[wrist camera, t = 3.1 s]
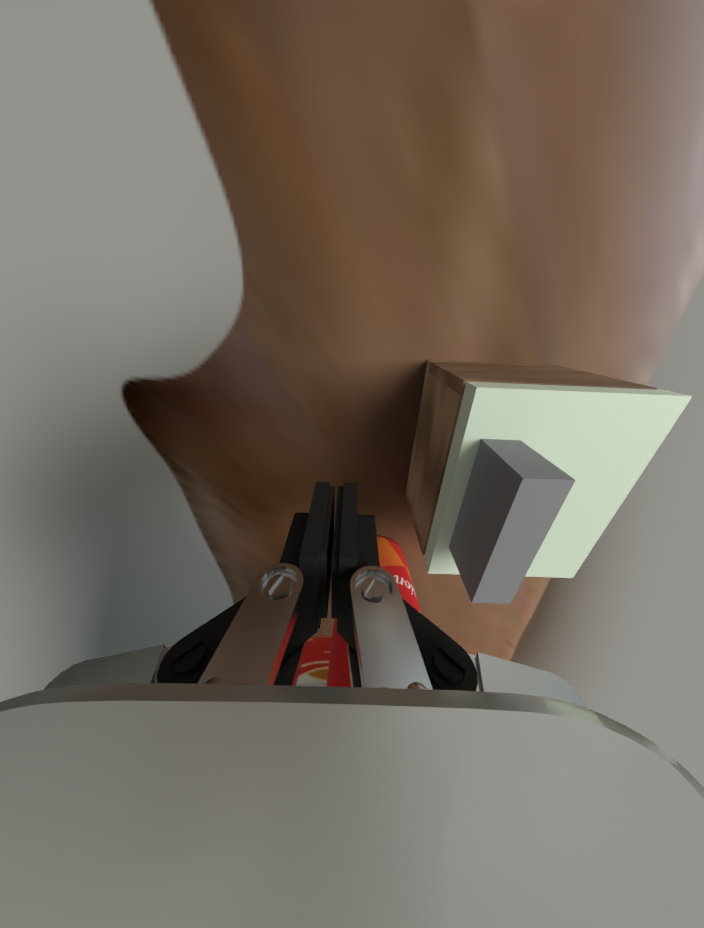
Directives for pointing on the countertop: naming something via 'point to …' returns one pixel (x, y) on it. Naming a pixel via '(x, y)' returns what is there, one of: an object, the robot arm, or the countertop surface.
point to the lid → (539, 478)
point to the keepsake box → (442, 414)
